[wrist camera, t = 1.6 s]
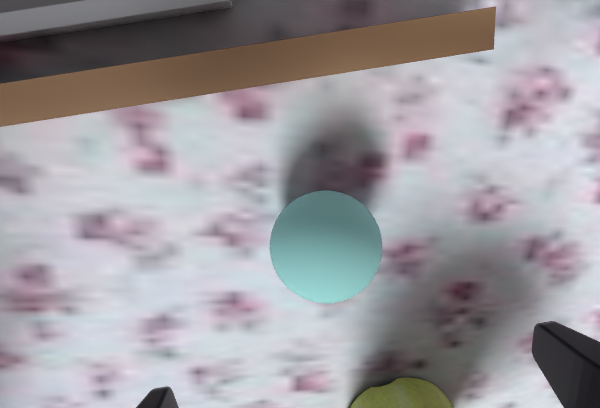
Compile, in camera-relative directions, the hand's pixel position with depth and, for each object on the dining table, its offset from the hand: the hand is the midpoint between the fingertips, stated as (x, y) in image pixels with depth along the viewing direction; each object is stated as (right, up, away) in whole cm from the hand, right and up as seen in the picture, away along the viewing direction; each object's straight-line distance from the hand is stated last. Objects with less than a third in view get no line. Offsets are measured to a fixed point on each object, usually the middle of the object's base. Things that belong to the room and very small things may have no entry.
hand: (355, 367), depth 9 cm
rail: (-5, +9, +5) cm, 11 cm away
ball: (-1, +3, +8) cm, 8 cm away
